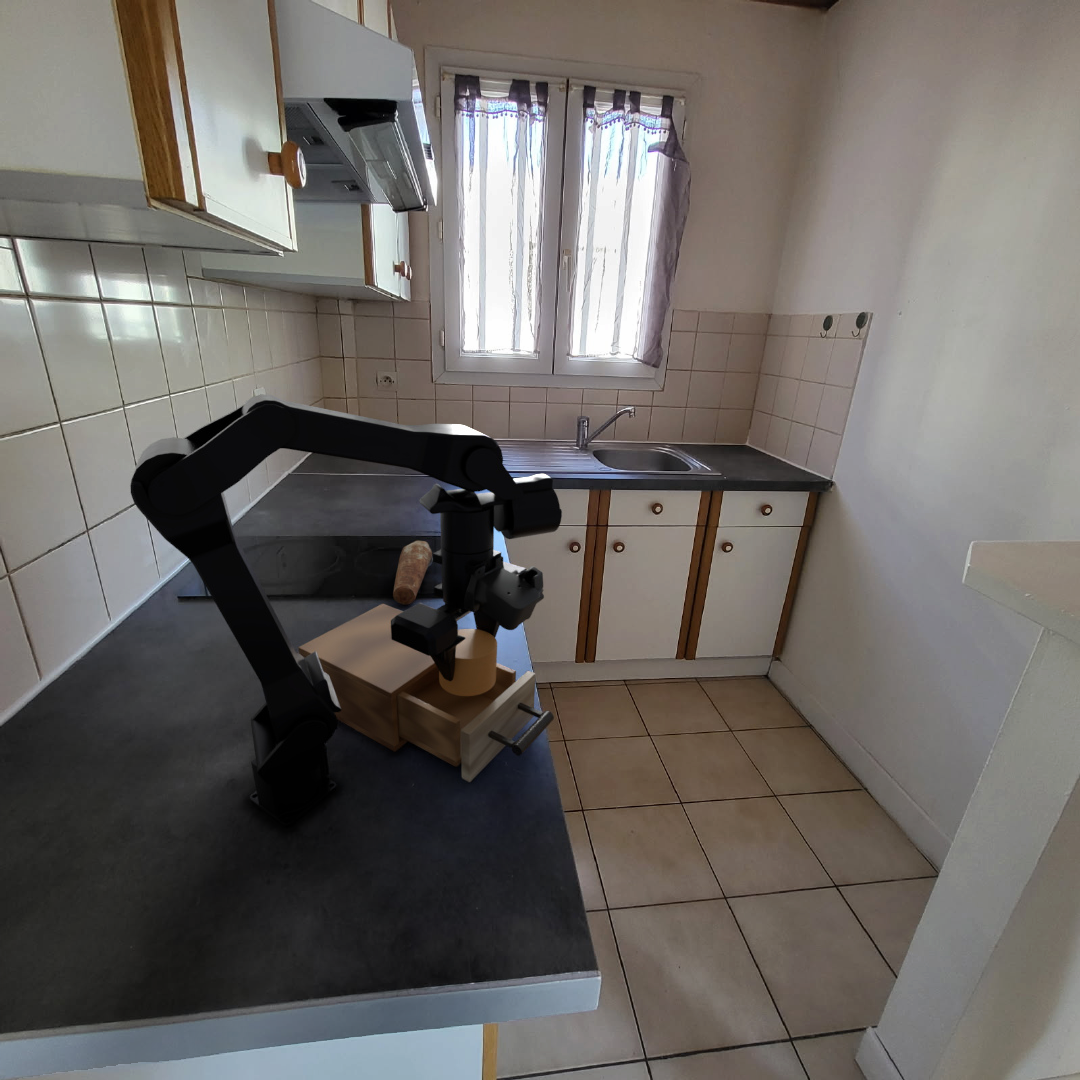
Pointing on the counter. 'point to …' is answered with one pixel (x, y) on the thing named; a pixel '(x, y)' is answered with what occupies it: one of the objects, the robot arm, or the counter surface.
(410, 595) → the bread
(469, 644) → the tan round cylinder
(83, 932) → the counter surface
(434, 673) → the drawer
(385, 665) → the cabinet
